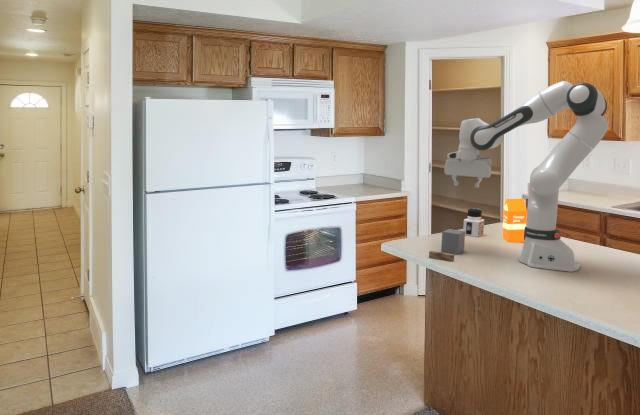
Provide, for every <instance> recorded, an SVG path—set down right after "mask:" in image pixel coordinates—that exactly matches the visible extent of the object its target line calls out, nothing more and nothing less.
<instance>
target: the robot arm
mask: <svg viewBox="0 0 640 415" xmlns="http://www.w3.org/2000/svg"><path fill="white" fill-rule="evenodd" d="M607 109H608V103H607V99H606V98H605V97H604V96H603V94H602V92H601V91H600V90H599V89H598V88H597V87H596V86H594V84H591V83H588V82H578V83H575V84H572V83H571V82H569V81H567V80H562V81H558V82H555V83H554V84H551V85H550V86H547V87H546V88H544V89H541V91H538V92H537V93H535V94H534V95H532V96H531V97H530V98H528V99H527V100H526V101H525V102H523V103H522V104H521V105H519V106H518V107H517V108H515V109H514V110H512V111H511V112H509V113H508V114H506V115H505V116H503V117H501V118H499V119H497V120H496V121H494V122H492V123H490V124H489V123H488V122H485V121H483V120H482V119H481V118H479V117H469V118H465V119H463V120H462V121H461V124H460V127H459V133H458V134H459V136H458V139H459V145H458V148H457V149H458V150H457V151H456V150H455V151H454V152H449V153H447V156H446V158H447V159H446V160H445V162H444V163H445V164H444V169H443V170H444V171H443V172H444V174H445V175H447V176H451V179H452V181H453V185H454V186H457V187H458V186H459V180H458V181H457V177H458V176H460V177H470V178H472V177H473V178H477V180H478V181H477V182H475V183H474V188H477V189H478V188H480V183H482V181H483V178H484V179H488V178H490V177H491V176H492V163H493V159H492V158H491V157H490V156H488V155H485V156H484V155H480V151H485V150H490V149H494V148H497V147H499V146H500V145H501V144H502V143H503V140H504V135H506V134H508V133H510V132H511V131H513V130H514V129H517V128H519V127H522V126H525V125H530V124H535V123H540V122H542V121H545V120H547V119H549V118H551V117H553V116H555V115H557V114H559V113H560V112H562V111H565V110H571V111H572V112H573V114H574V115H575V116H577V120H576V122H575V124H574V125H573V126H572V127H571V129H570V130H569V131H568V132H566V134H565V135H564V136H563V137H562V138H561V139H560V141H558V143H557V144H556V145H555V146H554V148H552V150H551V151H550V152H549V153H548V155H547V156H546V157H545V158H544V160H543V161H542V162H541V163H540V164H539V165H537V167H534V169H533V170H532V171H531V173H530V175H529V176H530V177H529V187H528V197H527V198H528V200H527V207H526V210H527V219H526V226H525V229H524V242H523V244H522V249H521V252H520V255H519V258H518V261H519V262H520V263H522V264H525V265H527V266H528V267H529V268H535V269H536V268H537V269H545V270H554V271H562V272H569V273H570V272H572V273H573V272H577V271H578V270H580V269H581V268H580V267H581V264H580V263H579V262H578V261H575V253H574V251H573V249H572V248H571V247H570V246H568V244H566V243H565V242H564V241H563V240H561V236H562V231H561V230H560V231H559V230H558V229H557V228H556V227H557V218H558V209H559V208H558V207H559V193H560V188H561V187H562V186H563V184H564V183H565V182H566V181H567V180H568V179H569V177H570V176H571V175H572V174H573V172H575V170H576V169H577V168H578V167H579V165H580V164H581V163H582V162H583V161H584V160H585V159H586V158H587V157H588V156H589V154H591V152H593V149H595V148H596V147H597V146H598V145H599V143H600V142H601V140H602V139H603V138H604V137H605V134H607V131H609V123H608V121H607V119H606V118H605V117H604V116H605V114H606V113H607Z"/></svg>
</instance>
